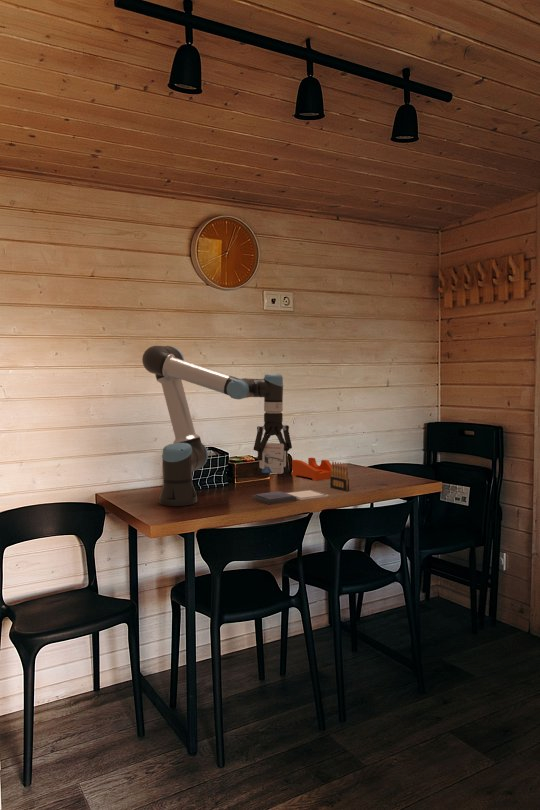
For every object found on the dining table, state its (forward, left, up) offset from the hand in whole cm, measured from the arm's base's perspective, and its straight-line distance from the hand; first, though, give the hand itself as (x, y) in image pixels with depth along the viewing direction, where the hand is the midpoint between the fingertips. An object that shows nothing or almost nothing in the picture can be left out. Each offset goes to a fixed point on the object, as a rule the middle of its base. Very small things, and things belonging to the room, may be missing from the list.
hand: (272, 467), depth 258 cm
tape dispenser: (+43, +35, -14) cm, 57 cm away
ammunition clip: (+35, +3, -14) cm, 38 cm away
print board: (+15, 0, -13) cm, 20 cm away
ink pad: (0, 0, -13) cm, 13 cm away
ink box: (0, 0, -2) cm, 2 cm away
